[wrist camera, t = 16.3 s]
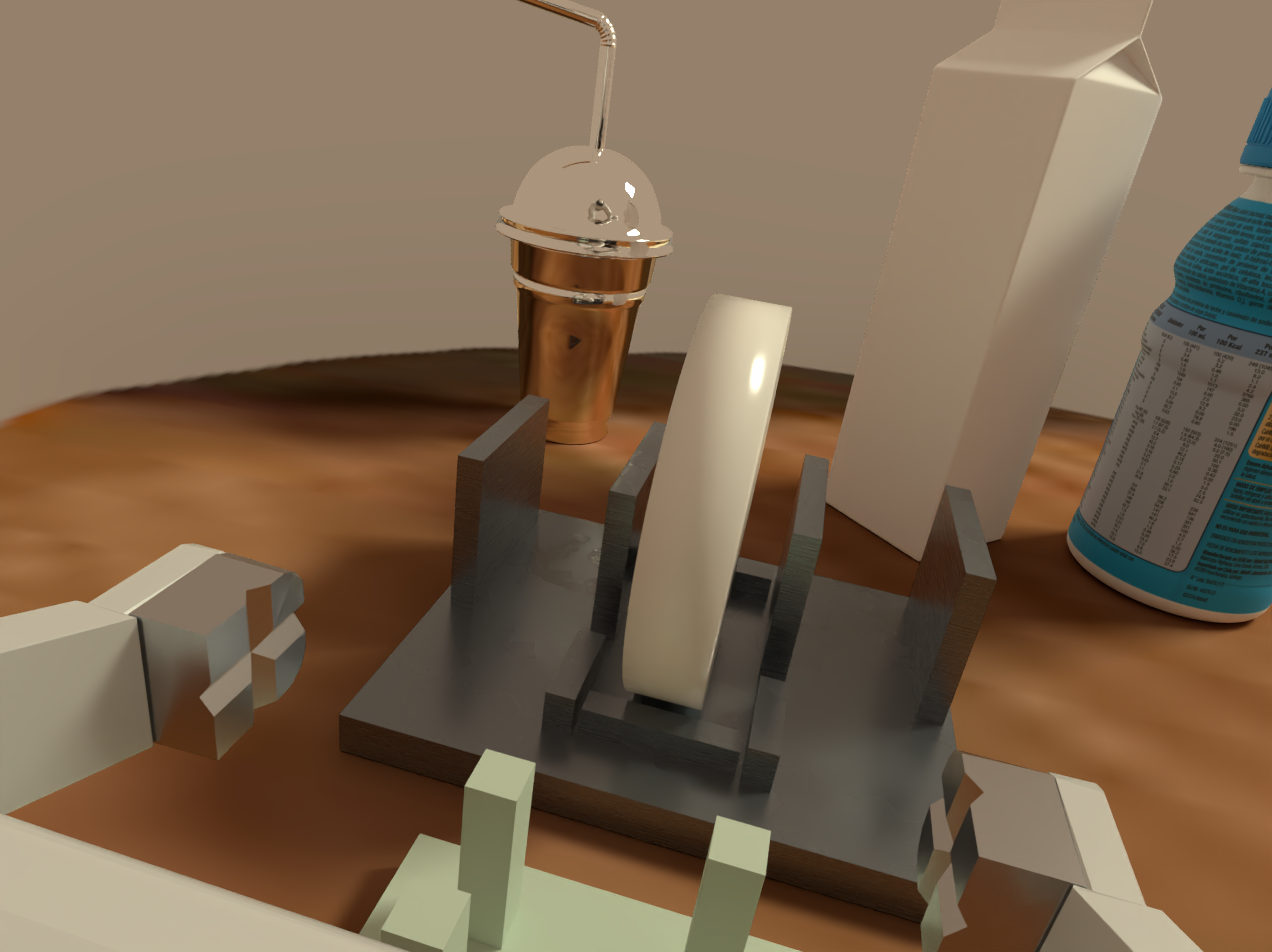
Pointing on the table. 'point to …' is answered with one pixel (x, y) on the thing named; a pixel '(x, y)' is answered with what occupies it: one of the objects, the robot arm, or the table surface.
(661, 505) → the plate
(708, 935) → the plate stand
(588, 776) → the dish rack
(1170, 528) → the beverage bottle
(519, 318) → the cup with straw
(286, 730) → the table surface
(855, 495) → the milk
